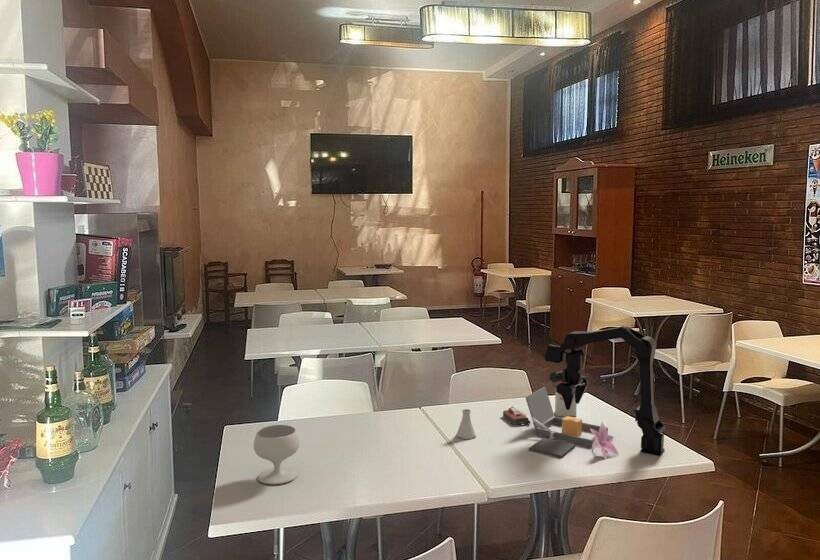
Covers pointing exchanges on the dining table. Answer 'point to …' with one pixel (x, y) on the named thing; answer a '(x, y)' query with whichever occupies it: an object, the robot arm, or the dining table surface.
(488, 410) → the dining table surface
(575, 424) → the block
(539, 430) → the case
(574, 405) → the small box
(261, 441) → the chalice
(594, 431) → the lily
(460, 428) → the flask
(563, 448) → the rubber mat
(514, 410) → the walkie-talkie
